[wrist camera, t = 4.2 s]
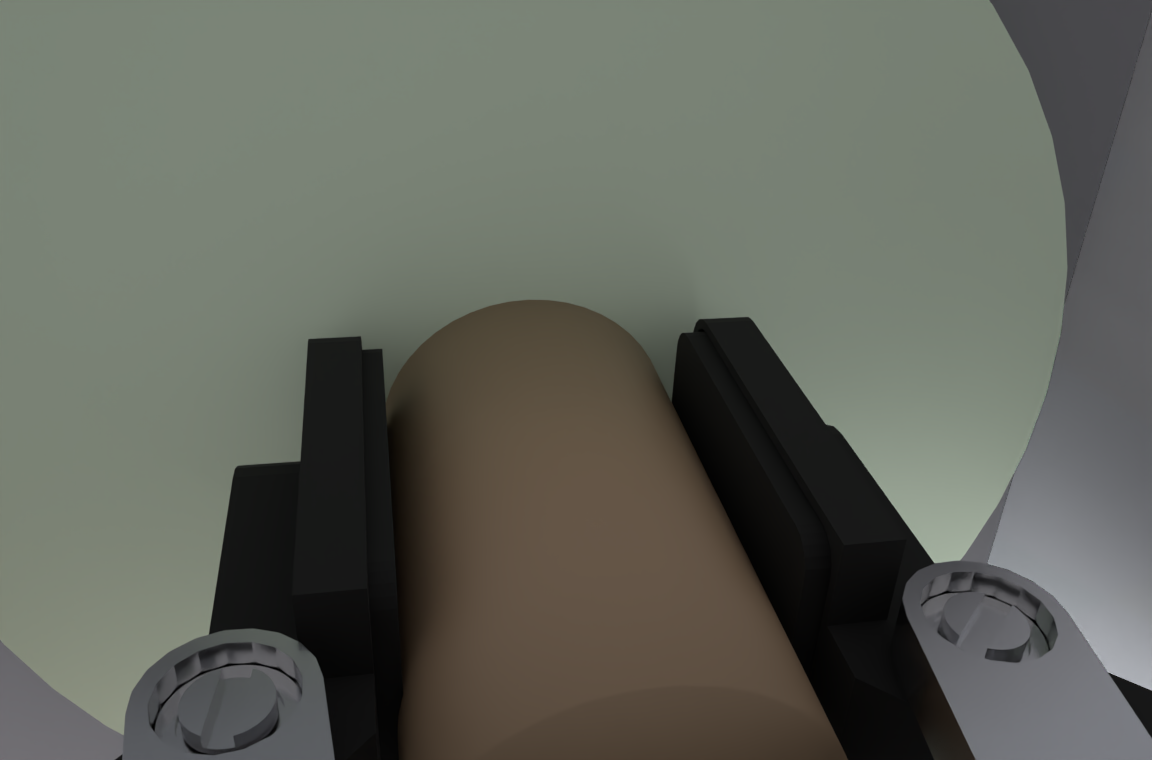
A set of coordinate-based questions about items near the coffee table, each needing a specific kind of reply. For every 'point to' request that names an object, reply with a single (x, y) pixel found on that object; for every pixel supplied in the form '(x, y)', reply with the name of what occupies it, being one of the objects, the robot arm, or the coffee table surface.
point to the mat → (1082, 145)
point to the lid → (506, 324)
